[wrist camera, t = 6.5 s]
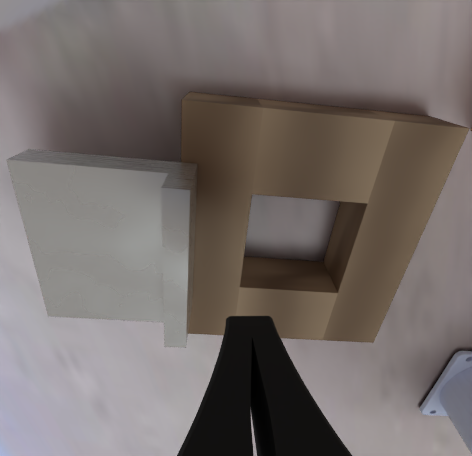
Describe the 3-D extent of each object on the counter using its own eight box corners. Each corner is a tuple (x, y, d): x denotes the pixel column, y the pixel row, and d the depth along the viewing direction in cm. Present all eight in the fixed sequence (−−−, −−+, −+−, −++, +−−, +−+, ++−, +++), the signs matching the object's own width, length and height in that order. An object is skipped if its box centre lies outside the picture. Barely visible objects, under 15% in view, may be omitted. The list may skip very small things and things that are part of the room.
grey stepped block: (197, 163, 13) (190, 190, 11) (192, 303, 17) (185, 347, 15) (28, 149, 13) (-22, 173, 10) (62, 295, 17) (31, 340, 14)
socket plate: (429, 116, 16) (469, 128, 13) (355, 308, 22) (373, 342, 19) (189, 91, 15) (181, 99, 12) (185, 298, 21) (179, 333, 19)
